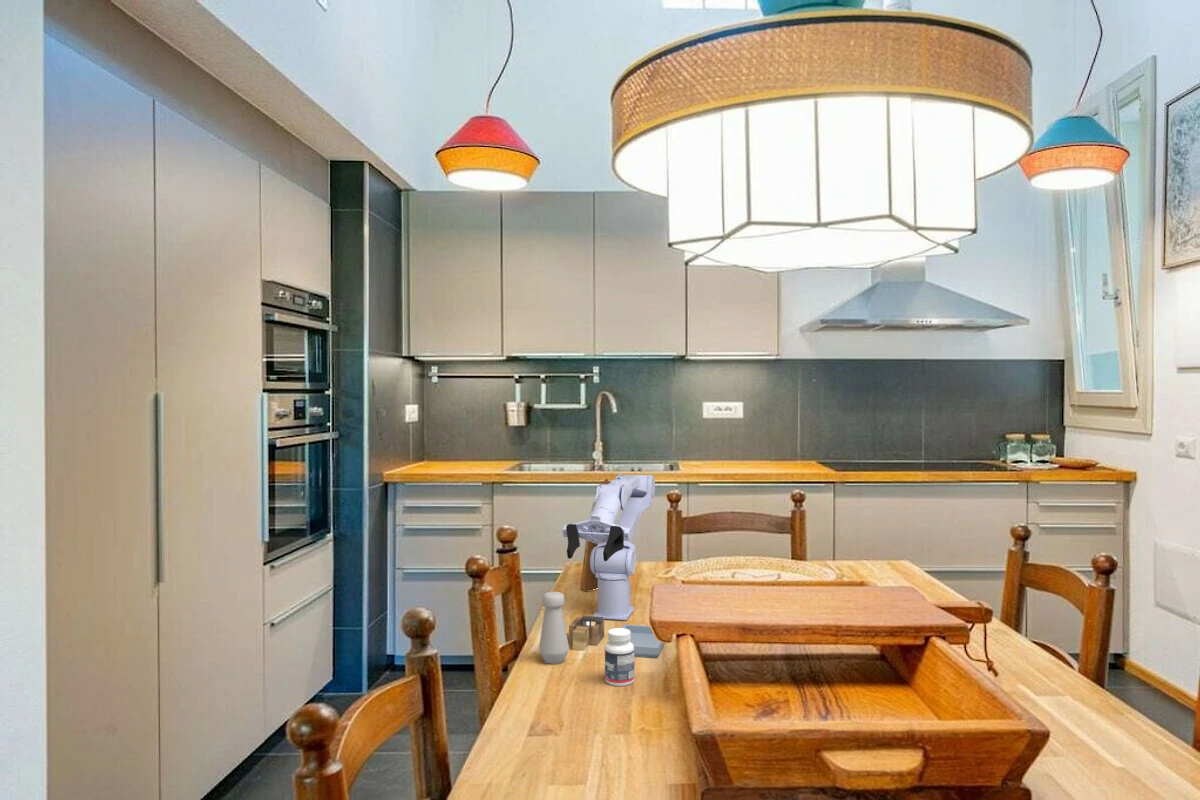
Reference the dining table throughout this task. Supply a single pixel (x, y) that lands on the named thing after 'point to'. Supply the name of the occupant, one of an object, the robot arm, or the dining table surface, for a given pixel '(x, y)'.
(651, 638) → the tray
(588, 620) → the grey lever handle
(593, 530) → the robot arm
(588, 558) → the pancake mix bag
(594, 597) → the dining table surface
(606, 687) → the dining table surface
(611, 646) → the pill bottle
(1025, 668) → the dining table surface
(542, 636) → the salt shaker
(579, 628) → the wooden stool frame
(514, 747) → the dining table surface
